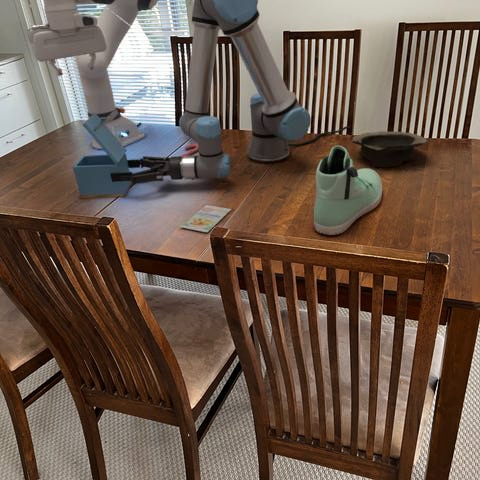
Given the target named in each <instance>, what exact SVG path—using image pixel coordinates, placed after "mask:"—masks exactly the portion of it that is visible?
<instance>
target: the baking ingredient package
mask: <svg viewBox="0 0 480 480" xmlns="http://www.w3.org/2000/svg"><path fill="white" fill-rule="evenodd" d="M231 211H232V208H228V207H221V206H217V205H211V204H205V205H204V206H203V207H201V209H199V210H198V211H197V212H196V213H195V214H193V215H192V216H191V217H190V218H189V219H188V220H187V221H185V222H184V223H183V224H181V226H180V228H183V229H187V230H193V231H198V232H203V233H209V232H210V230H212V228H213V227H215V226H216V225H217V224H219V222H220V221H221V220H222V219H223V218H224V217H225V216H226V215H228V213H230V212H231Z"/></svg>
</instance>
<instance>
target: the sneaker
mask: <svg viewBox="0 0 480 480" xmlns="http://www.w3.org/2000/svg"><path fill="white" fill-rule="evenodd" d="M317 165H318V166H317V168H316V172H315V201H314V207H313V225H314V229H315V231H316V232H318V233H320V234H323V235H326V236H327V235H328V236H336V235H339V234H342V233H344V232H345V231H347V230H348V229H349V228H350V227H351V226H352V225H353V224H354V222H356V221H357V220H358V219H359V218H360V217H362V216H363V215H365V214H367V213H370V212H372V210H374V209H375V208H377V207H378V205H380V203H381V200H382V196H383V184H382V183H383V182H382V179H381V176H380V175H379V173H378V172H377V171H376V170H374V169H372V168H367V167H365V168H358V169H357V168H355V167H354V161H353V159H352V158H351V156H350V153H349V152H348V150H347V148H345V147H344V146H342V145H334V146H333V147H331V149H330V151H329V154H327V155H326V156H325V157H324V158H322V159H321V160H320V161H319V163H318V164H317ZM343 230H344V231H343ZM319 231H320V232H319ZM322 232H323V233H322ZM339 232H340V233H339ZM326 233H327V234H326ZM328 233H329V234H328ZM335 233H337V234H335Z"/></svg>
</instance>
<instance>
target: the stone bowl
mask: <svg viewBox="0 0 480 480" xmlns="http://www.w3.org/2000/svg"><path fill="white" fill-rule="evenodd" d="M428 142H429V140H428V139H427V138H425V137H423V136H421V135H418V134H415V133H412V132H404V131H376V132H375V131H374V132H373V131H372V132H364V133H362V134H356V135H355V136H353V137H352V141H351V143H353V144H355V145H358V146H360V149H361V153H362V154H363V156H364V157H365V158H366V159H367V160H370V161H371V166H373V167H376V168H377V167H380V168H389V167H397V166H400V165H402V162H403V161H404V162H408V161H409V162H410V161H412V160H413V157H414V153H415V148H416V147H419V146H423V145H424V144H426V143H428Z"/></svg>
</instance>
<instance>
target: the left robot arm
mask: <svg viewBox="0 0 480 480" xmlns="http://www.w3.org/2000/svg"><path fill="white" fill-rule="evenodd" d="M42 1H43V11H44V14H45V18H46V23H43V24H38V25H37V24H35V25H31V27H29V28H28V30H27V33H26V34H27V38H28V41H29V42H30V43H31V45H32V53H33V57H34V59H35V60H36V61H38V62H40V63H43V62H47V61H48V63H49V64H50V66H51V67H52V68H53V69H54V70H55V73H56V76H57V77H61V76H64V73H63V69H62V68H61V67H57V66H56V65H55V64H57V63H56V61H57V60H60V59H67V58H72V57H75V61H76V66H77V71H78V74H79V79H80V84H81V87H82V91H83V96H84V100H85V104H86V109H87V118H88V119H89V118H90V117H91V116H92V115H93V114H94V113H96V114H97V116H98V117H99V118H100V119H101V120H102V121H103V120H104V119H105V118H107V117H108V116H109V115H110V114H111V113H112V112H113V111H114V110H117V111H118V114H117V115H116V117H115V118H114V119H113V120H112V121H111V122H107V123H106V124H105V125H106V126H107V128H108V129H109V130H110V131H111V132H112V134H113V135H114V136H115V137H116V138H117V140H118V141H119V142H120V143H121V144H122V146H123V147H124V148H125V147H127V146H128V145H131V144H132V143H135V142H137V141H139V140H141V139H143V138H145V137H146V135H145V133H144V132H142V131H140V130H139V129H138V127H140V125H142V122H141V121H140V122H138V124H136V123H135V122H134V121H133V120H131V119H129V118H127V117H125V116H123V115H122V114H125V112H126V109H125V108H124V107H123V108H122V107H117V106H116V103H115V97H114V94H113V88H112V84H111V80H110V76H109V72H108V68H109V66H110V65H111V63H112V61H113V59H114V57H115V55H116V53H117V51H118V49H119V46H121V43H122V42H123V40H124V38H125V37H126V35H127V34H128V32H129V30H130V29H131V28H132V25H133V23H134V22H135V20H136V19H137V16H138V14H139V12H142V11H145V12H146V11H149V10H152V9H153V8H154V7H155V6H156V5H157V4H158V3H159V0H42ZM83 5H84V6H85V5H105V7H104V8H103V10H102V12H100V15H99V17H96V16H94V15H88V14H86V13H80V12H79V9H78V6H83ZM91 137H92V136H91ZM91 140H92V141H91V147H92V148H94V149H98V150H103V149H102V147H101V146H100V145H99V144H98V143H97V142H96V140H95V139H94V138H93V137H92V138H91Z"/></svg>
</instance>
